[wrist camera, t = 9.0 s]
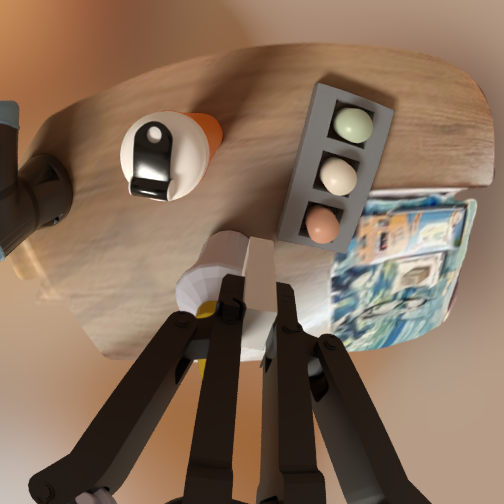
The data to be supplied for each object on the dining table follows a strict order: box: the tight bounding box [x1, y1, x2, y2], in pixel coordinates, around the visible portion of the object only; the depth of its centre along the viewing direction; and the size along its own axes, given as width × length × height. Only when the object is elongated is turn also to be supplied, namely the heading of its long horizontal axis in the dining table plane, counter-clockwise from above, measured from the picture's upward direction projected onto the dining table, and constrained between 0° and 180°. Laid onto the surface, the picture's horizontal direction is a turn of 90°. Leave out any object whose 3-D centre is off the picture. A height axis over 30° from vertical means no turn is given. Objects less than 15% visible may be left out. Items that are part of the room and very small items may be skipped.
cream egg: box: [319, 157, 357, 196], centre depth 37 cm, size 5×5×4 cm
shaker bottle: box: [120, 111, 223, 201], centre depth 30 cm, size 9×9×20 cm
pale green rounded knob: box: [333, 108, 373, 143], centre depth 33 cm, size 5×5×4 cm
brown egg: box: [305, 205, 340, 244], centre depth 41 cm, size 5×5×4 cm
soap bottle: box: [175, 230, 250, 380], centre depth 38 cm, size 13×13×25 cm
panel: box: [276, 83, 394, 254], centre depth 39 cm, size 12×25×3 cm, turn 168°
